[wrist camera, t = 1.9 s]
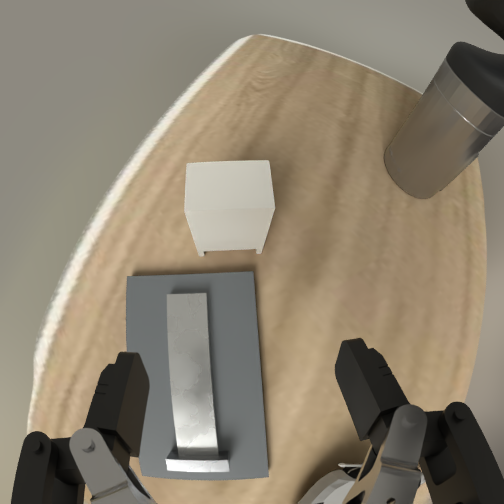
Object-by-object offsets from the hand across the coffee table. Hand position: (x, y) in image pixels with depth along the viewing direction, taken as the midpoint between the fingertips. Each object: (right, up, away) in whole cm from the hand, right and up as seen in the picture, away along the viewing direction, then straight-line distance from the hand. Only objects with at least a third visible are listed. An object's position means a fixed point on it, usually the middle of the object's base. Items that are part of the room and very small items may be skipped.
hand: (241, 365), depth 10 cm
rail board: (-5, -7, +13) cm, 15 cm away
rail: (-5, -7, +13) cm, 15 cm away
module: (-2, +6, +18) cm, 19 cm away
